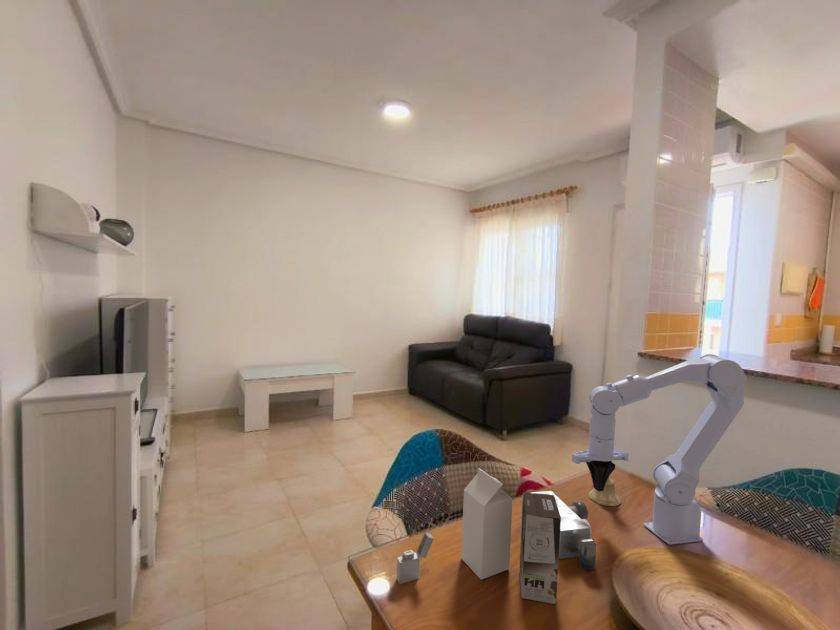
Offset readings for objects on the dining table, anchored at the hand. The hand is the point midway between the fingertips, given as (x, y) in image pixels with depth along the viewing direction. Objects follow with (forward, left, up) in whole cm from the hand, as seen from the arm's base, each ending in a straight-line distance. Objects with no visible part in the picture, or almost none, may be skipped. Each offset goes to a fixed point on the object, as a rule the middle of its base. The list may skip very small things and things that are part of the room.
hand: (598, 489), depth 99 cm
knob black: (+8, 0, -7) cm, 11 cm away
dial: (+13, +15, -8) cm, 21 cm away
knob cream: (+12, +7, -7) cm, 15 cm away
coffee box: (+26, +18, -8) cm, 32 cm away
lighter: (+49, +12, -8) cm, 51 cm away
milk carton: (+34, +11, -8) cm, 36 cm away
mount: (+14, +4, -8) cm, 16 cm away
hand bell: (-9, -9, -8) cm, 16 cm away
